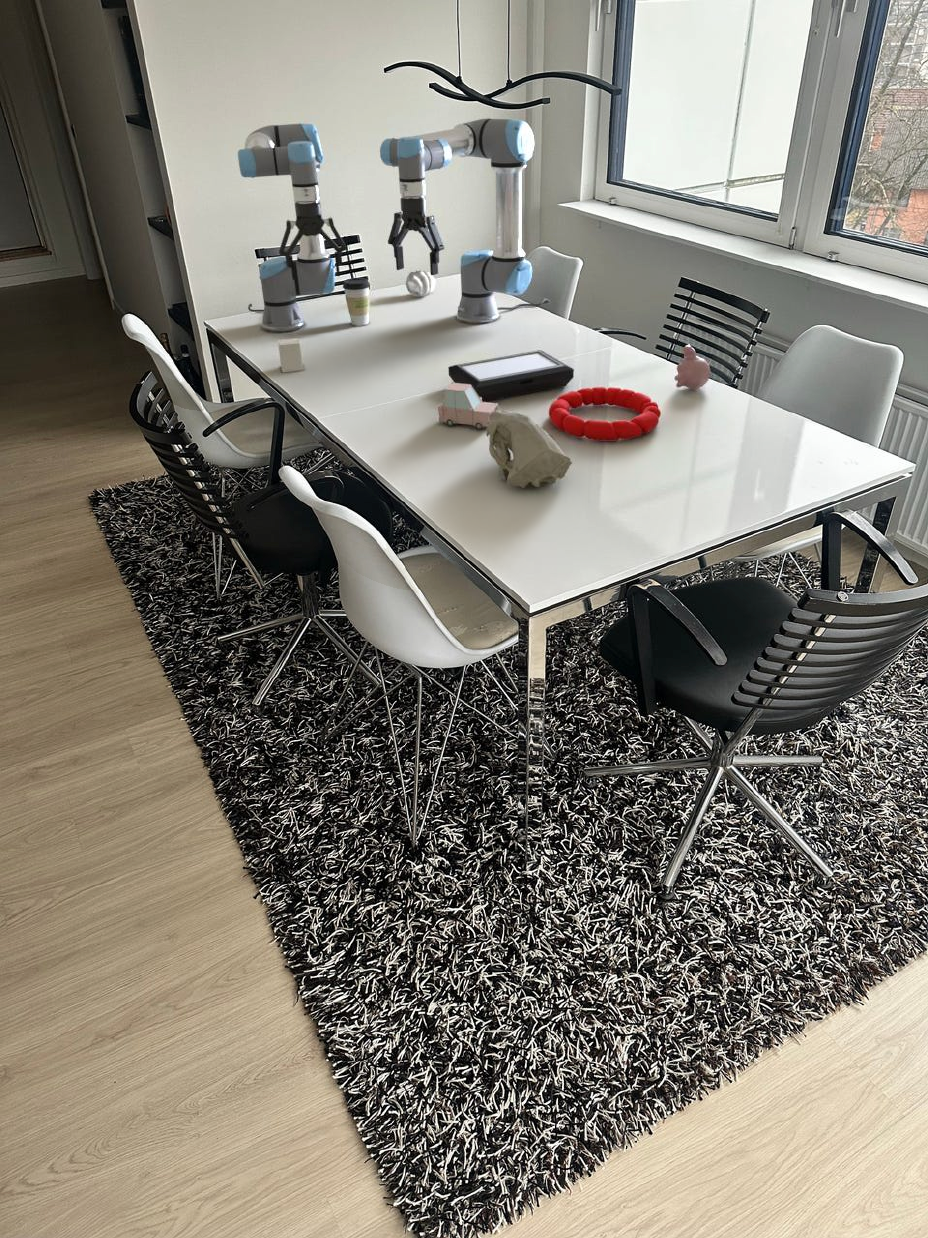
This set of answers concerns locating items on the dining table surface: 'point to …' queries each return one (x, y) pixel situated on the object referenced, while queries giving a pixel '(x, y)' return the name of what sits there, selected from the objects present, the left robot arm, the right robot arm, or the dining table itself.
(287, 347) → the block
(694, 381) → the figurine
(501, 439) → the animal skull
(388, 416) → the dining table surface
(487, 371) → the electronic device
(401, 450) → the dining table surface
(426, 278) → the seashell
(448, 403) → the toy car
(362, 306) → the coffee cup
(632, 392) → the decorative ring
